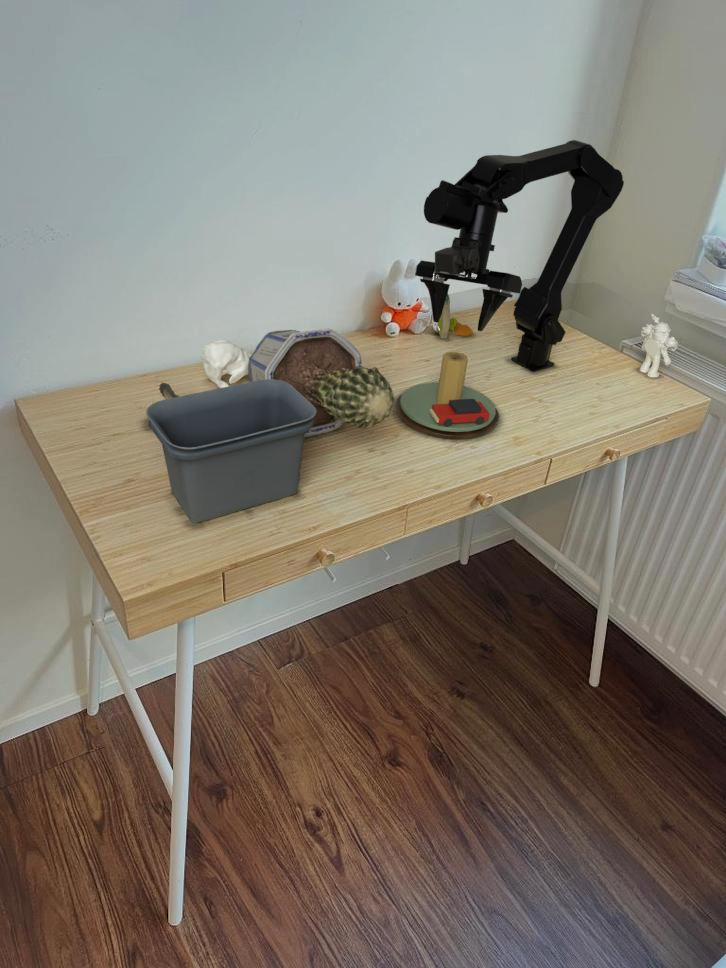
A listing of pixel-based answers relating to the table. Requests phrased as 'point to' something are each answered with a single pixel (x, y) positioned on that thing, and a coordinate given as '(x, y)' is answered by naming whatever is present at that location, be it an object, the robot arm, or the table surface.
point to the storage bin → (232, 445)
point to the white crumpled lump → (224, 361)
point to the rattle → (451, 323)
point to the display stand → (444, 434)
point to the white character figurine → (656, 346)
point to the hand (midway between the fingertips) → (457, 326)
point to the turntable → (448, 400)
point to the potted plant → (324, 377)
